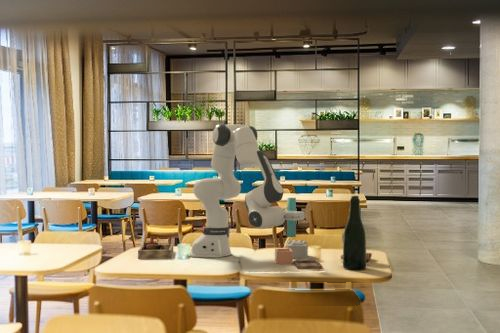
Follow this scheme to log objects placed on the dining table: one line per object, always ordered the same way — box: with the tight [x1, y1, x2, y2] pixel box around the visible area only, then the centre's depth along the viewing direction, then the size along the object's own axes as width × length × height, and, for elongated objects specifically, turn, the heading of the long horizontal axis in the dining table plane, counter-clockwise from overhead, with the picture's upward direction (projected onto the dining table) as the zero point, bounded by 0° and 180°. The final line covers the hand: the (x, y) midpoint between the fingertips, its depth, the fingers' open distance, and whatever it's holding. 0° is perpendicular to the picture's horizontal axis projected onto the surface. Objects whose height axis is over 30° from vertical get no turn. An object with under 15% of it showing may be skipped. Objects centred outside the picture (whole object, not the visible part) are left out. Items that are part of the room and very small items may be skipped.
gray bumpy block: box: [286, 239, 309, 260], centre depth 307 cm, size 10×13×9 cm
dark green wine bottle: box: [342, 195, 367, 271], centre depth 281 cm, size 10×10×33 cm
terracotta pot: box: [274, 248, 294, 265], centre depth 292 cm, size 8×8×6 cm
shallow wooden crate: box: [137, 243, 174, 260], centre depth 314 cm, size 16×18×4 cm
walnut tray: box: [293, 259, 323, 270], centre depth 283 cm, size 11×14×2 cm
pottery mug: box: [142, 241, 164, 250], centre depth 312 cm, size 12×10×8 cm
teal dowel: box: [286, 197, 297, 238], centre depth 288 cm, size 4×4×18 cm
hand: (292, 213), depth 289 cm, fingers closed on teal dowel, 4 cm apart
